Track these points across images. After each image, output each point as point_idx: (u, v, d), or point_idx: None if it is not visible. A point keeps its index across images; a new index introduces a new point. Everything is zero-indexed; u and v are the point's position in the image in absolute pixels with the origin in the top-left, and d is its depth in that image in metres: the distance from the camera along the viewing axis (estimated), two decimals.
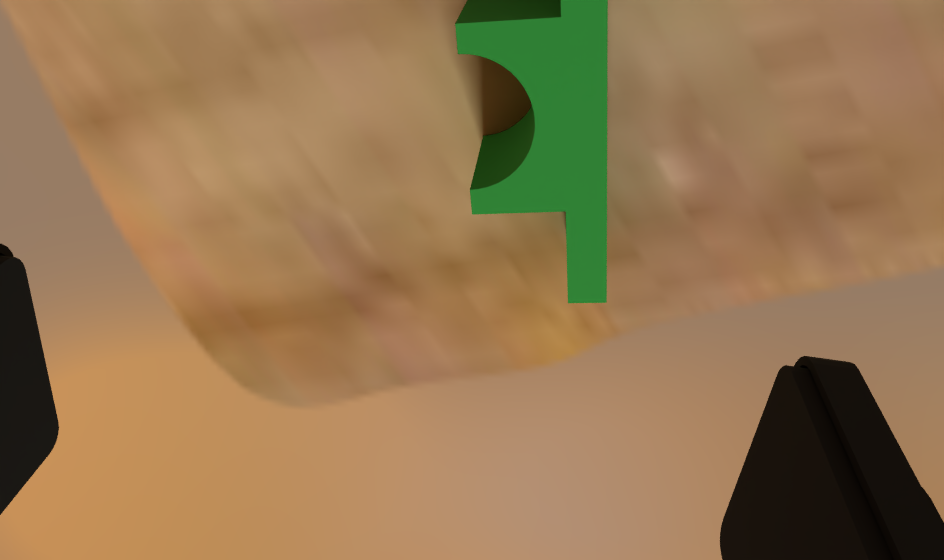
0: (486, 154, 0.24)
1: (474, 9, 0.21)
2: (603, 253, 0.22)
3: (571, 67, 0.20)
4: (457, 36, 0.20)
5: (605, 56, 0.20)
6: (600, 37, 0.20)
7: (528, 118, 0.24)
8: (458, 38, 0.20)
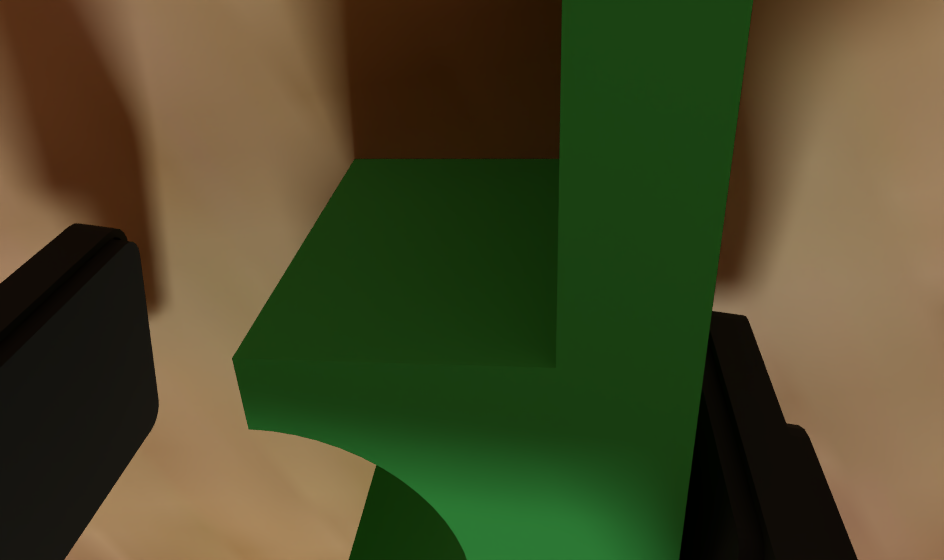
0: (379, 513, 0.11)
1: (323, 263, 0.08)
2: None
3: (580, 486, 0.07)
4: (241, 390, 0.07)
5: (685, 472, 0.07)
6: (675, 427, 0.06)
7: None
8: (245, 394, 0.07)
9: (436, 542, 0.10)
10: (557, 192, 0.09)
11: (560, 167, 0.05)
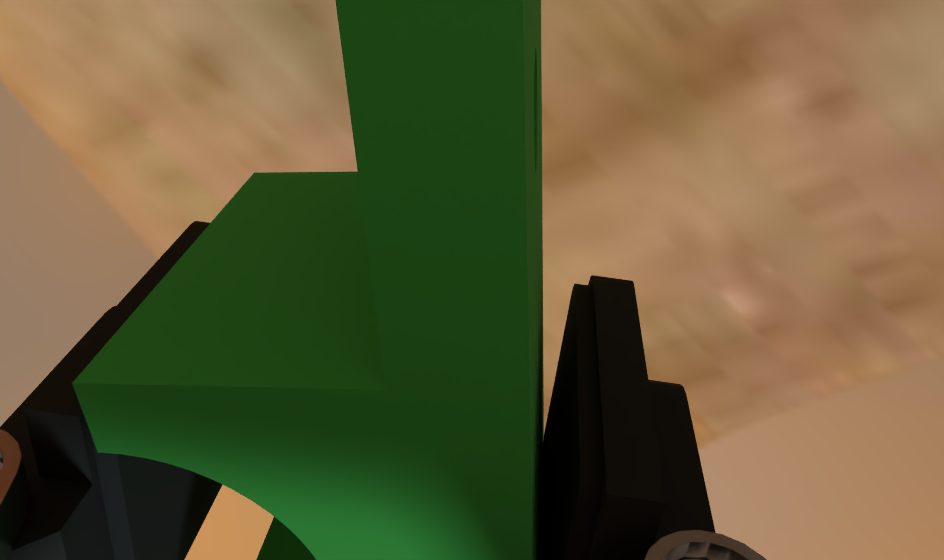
0: (286, 528, 0.11)
1: (189, 284, 0.08)
2: None
3: (427, 506, 0.07)
4: (85, 414, 0.07)
5: (526, 490, 0.07)
6: (508, 447, 0.06)
7: None
8: (90, 418, 0.07)
9: None
10: None
11: (361, 193, 0.05)
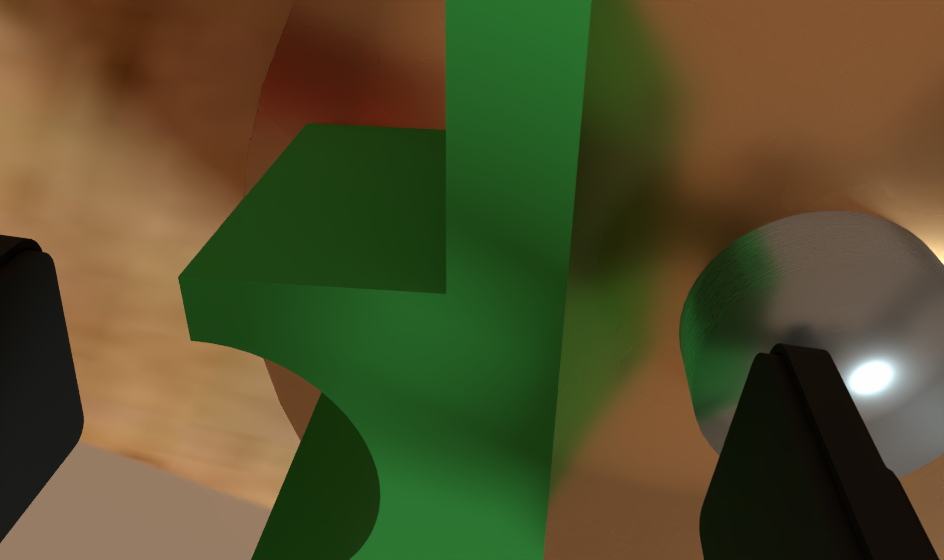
0: (314, 445, 0.12)
1: (264, 208, 0.09)
2: None
3: (469, 400, 0.08)
4: (185, 305, 0.08)
5: (553, 388, 0.08)
6: (542, 348, 0.08)
7: None
8: (189, 309, 0.08)
9: (361, 468, 0.11)
10: None
11: (446, 123, 0.07)
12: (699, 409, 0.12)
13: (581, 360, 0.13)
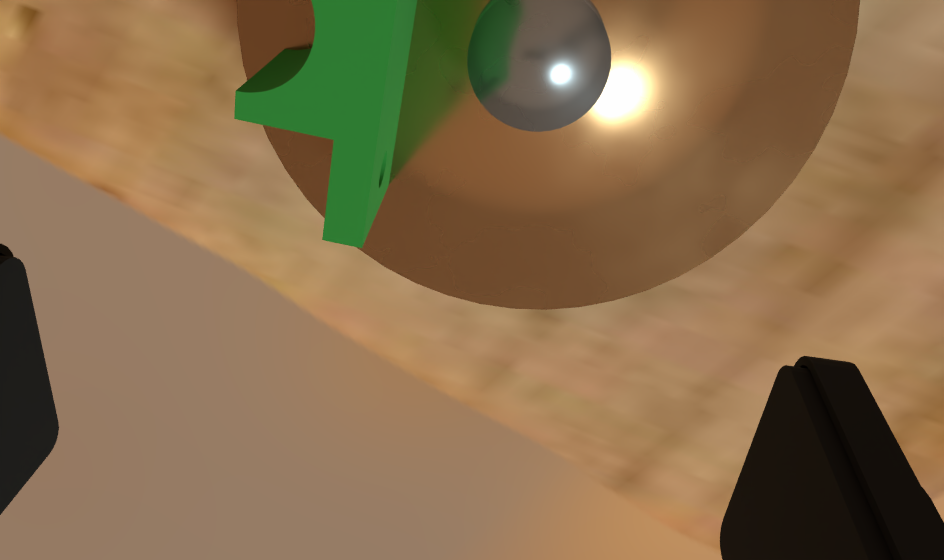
0: (274, 65, 0.22)
1: None
2: (365, 194, 0.21)
3: None
4: None
5: None
6: None
7: None
8: None
9: (300, 66, 0.22)
10: None
11: None
12: (470, 69, 0.22)
13: (418, 56, 0.24)
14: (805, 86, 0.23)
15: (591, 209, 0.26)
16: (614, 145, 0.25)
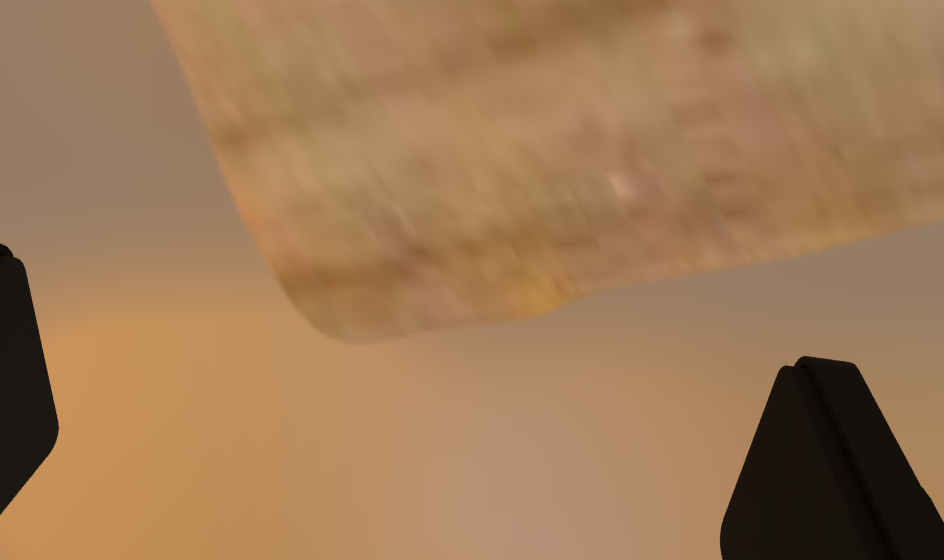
0: None
1: None
2: None
3: None
4: None
5: None
6: None
7: None
8: None
9: None
10: None
11: None
12: None
13: None
14: None
15: None
16: None
